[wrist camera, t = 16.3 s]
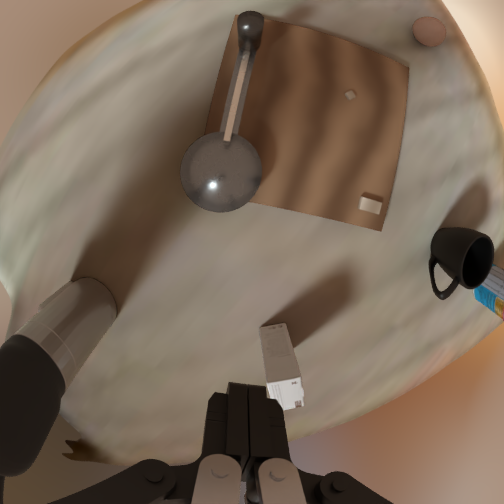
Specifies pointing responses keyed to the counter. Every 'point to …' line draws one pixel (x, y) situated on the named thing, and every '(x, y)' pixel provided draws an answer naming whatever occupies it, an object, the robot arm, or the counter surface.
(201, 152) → the crank handle
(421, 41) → the egg
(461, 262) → the mug
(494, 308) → the beverage bottle
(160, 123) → the counter surface
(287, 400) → the skincare box
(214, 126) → the board
